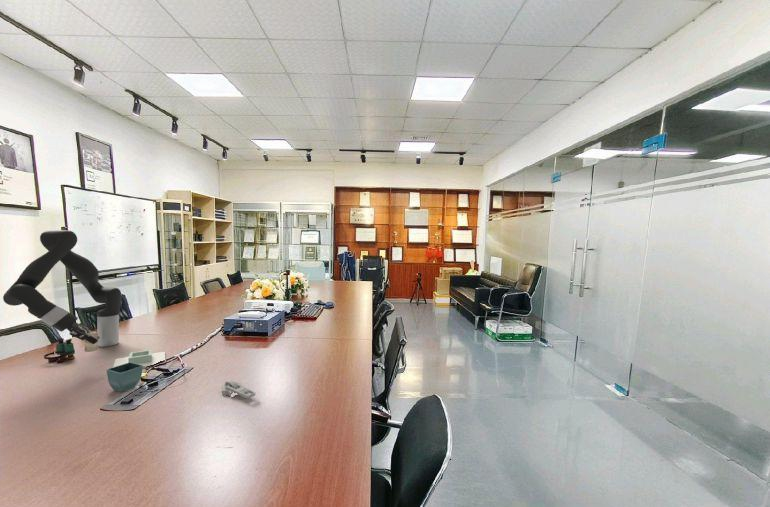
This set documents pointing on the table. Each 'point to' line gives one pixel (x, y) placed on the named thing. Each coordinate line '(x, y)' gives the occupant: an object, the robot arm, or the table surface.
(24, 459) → the table surface
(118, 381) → the flower pot
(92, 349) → the beige upright block
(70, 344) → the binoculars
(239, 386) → the zipper pull
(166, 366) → the table surface
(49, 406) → the table surface
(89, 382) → the table surface
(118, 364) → the holder
